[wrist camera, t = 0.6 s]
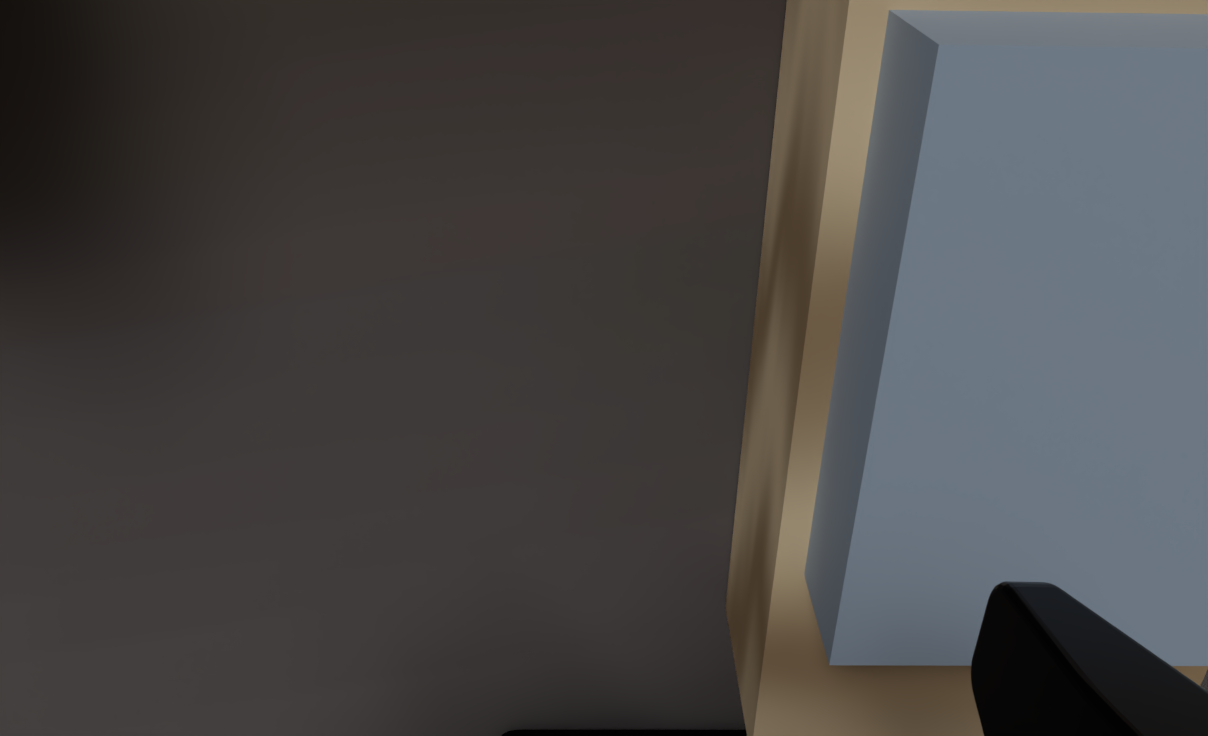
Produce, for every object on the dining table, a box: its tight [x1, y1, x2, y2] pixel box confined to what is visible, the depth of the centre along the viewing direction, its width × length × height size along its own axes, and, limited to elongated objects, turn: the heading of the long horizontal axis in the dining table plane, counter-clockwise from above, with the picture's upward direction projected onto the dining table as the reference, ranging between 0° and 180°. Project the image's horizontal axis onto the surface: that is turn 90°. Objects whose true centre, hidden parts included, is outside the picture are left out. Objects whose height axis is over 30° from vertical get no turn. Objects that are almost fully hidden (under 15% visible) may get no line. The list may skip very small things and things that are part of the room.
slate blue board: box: [804, 10, 1208, 666], centre depth 14 cm, size 9×6×2 cm, turn 179°
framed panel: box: [726, 0, 1208, 736], centre depth 16 cm, size 18×8×4 cm, turn 179°
